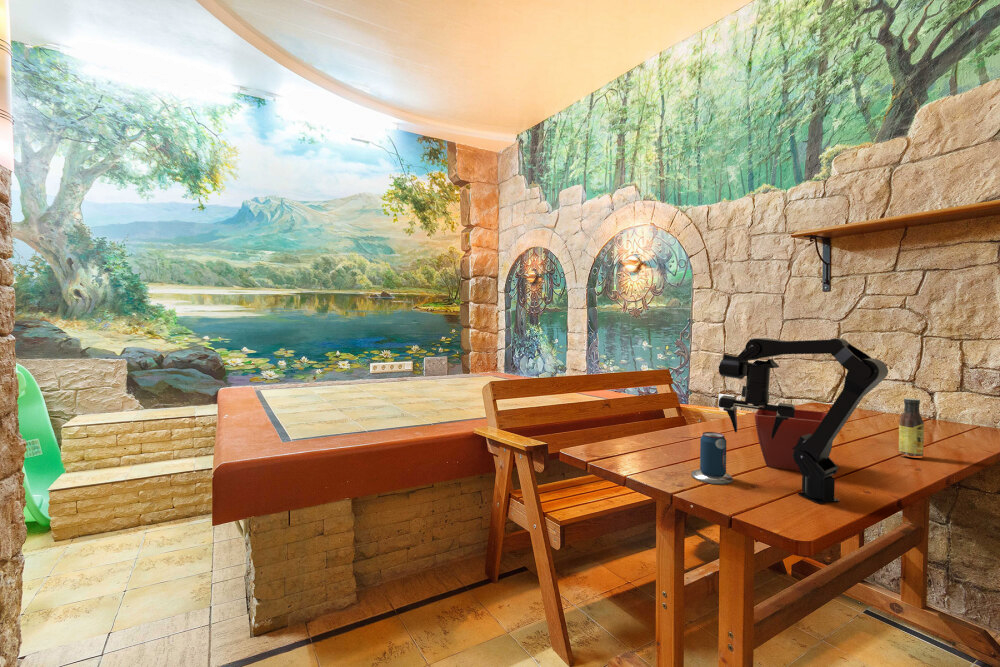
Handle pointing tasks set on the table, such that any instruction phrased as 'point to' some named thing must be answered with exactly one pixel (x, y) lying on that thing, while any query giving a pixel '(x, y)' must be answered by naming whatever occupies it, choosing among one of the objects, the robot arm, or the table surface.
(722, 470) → the soda can
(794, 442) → the plant pot
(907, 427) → the sauce bottle
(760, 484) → the table surface
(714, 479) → the silver metal disc
